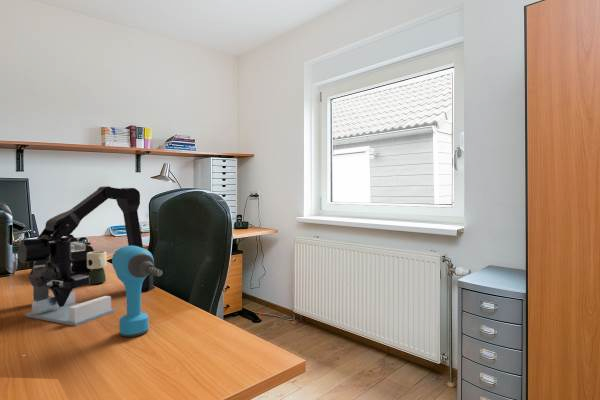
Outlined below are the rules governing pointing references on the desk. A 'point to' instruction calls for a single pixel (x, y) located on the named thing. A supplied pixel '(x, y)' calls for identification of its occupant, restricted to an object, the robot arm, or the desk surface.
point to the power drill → (134, 286)
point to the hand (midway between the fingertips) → (61, 306)
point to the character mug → (96, 266)
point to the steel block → (39, 291)
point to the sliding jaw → (50, 303)
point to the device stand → (75, 259)
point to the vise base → (64, 314)
